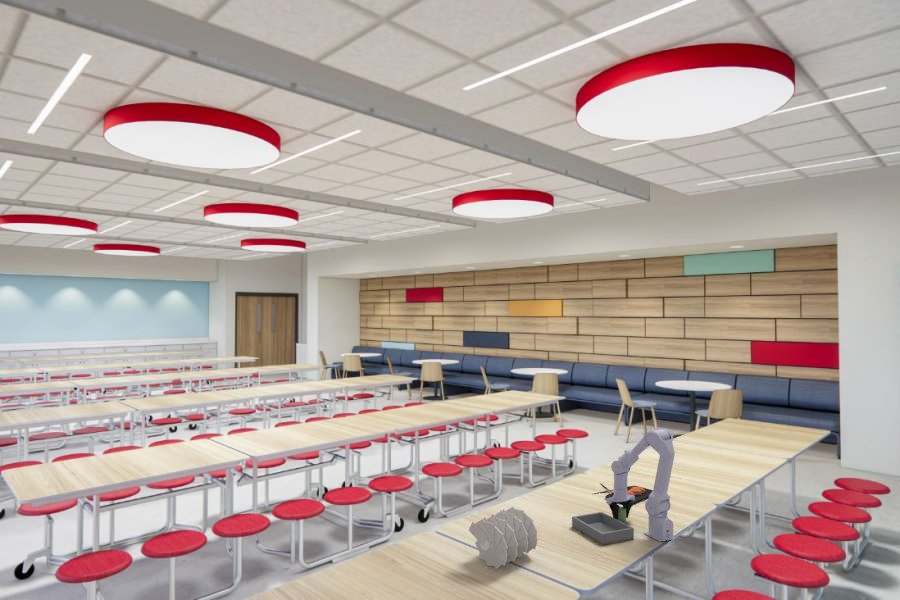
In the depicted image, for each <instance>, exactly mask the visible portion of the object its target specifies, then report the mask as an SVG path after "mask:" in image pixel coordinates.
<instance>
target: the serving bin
mask: <svg viewBox="0 0 900 600" xmlns="http://www.w3.org/2000/svg"><path fill="white" fill-rule="evenodd" d="M571 528H573V529H574V530H576V531H577V532H579V533H581V534H583V535H584V536H586V537H588V538H589V539H591V540H593V541H594V542H595V543H597V544H599V545H601V546H607V545H613V544H616V543H622V542H626V541H632V539H633V540H634V539H635V538H634V537H635V536H634V535H635V534H634V533H635V531H634V530H635V528H634V527H632V526H630V525H629V524H627V523H625V524H624V523H623V522H621V521H619V520H617V519H615V518H613V516H610V515H609V514H607V513H605V512H603V511H598V512H592V513H586V514H580V515H574V516H572V517H571Z"/></svg>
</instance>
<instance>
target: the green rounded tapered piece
mask: <svg viewBox="0 0 900 600" xmlns="http://www.w3.org/2000/svg"><path fill="white" fill-rule="evenodd" d="M618 520H619V521H621V522H623V523H624V524H627V518H626V508H625V507H623V506H620V507H619V510H618Z"/></svg>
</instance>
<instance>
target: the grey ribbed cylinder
mask: <svg viewBox="0 0 900 600" xmlns="http://www.w3.org/2000/svg"><path fill="white" fill-rule="evenodd" d="M469 526H470V527H469V529H468V531H469V533H470V534H471V535H472V536H473V537H474V538H475V539H476V541H475V543H474V544H475V546H476V548H477V550H478V552H479V555H478V557H479V558H480V559H482V560H483V561H484V562H485V563H486V566H488V567H494V568H495V570H498V569H499V568H500V567H501V566H506V565H507V564H508V563H510V562H511V561H512V562H515V561H516V558H520V557H521V556H522V555H523V554H524V553H525V554H528V553H530V551H532V550H536V547H537V545H538V532H539V531H538V530H537V528H536V525H535V524H534V519H533V518H532V517H530V516H529V514H527V513H526V512H525V510H524V509H518V508H515V507H514V506H512V507H510V508H508V509H507V510H506V509H505V508H503V509H502V510H500V511H499V512H497V513H496V514H494V513H492V514H491V517H487V516H484V518H482V519H479V521H477V522H475V521H473V520H472V522H471V524H470V525H469Z"/></svg>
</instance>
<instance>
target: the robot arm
mask: <svg viewBox="0 0 900 600" xmlns="http://www.w3.org/2000/svg"><path fill="white" fill-rule="evenodd" d="M673 439H674V436H673V435H672V433H671V432H670V430H668V429H667V428H660V429H655V430H649V431H647V432H646V433H645V434H644V435H643V437H642V438H641V439H640V440H639V441H638V442H637V444H636V445H635V446H634V447H633V448H631V449H630V448H629V449H625V450H624V453H623V454H622V455H621V456H619V457H618V458H617V459H618V460H613V461H612V463H611V466H610V468H611V471H612V472H613V492H614V495H613V497H610V498H605V502H606V504H607V505H608V506H609V508H610V511H611V514H612V517H613V518H615V519H617V520H618V510H619V507H621V505H619V504H618V503H620V502H622V503H621V504H622V507H625V508H626V519H628V518H629V515H630V511H631V510H632V507H633V505H634V503H633V502H632V501H631V500H635V496H633V495H627V487H628V476H629V472H630V471H631V467H633V465H634V464H635V463H637V461H639V459H640V458H639V455H641V454H642V453H643V452H644V451H645V450H646V449H648V448H649V447H651V448H652V449H653V450H655V452H656V453H658V455H659V457H658V458H659V459H658V463H657V467H656V474H655V479H654V484H653V488H652V490H653V491H652V493H651V494H650V495H649V497H647V499H646V502H645V503H644V509H645V511H646V513H647V515H648V530H647V531H643V534H645V535H647V536H648V537H650V538H652V539H654V540H656V541H658V540H659V541H658V542H660V543H661V541H663V542H666V540H667V541H671V540H675V538H676V537H674V523H673V521H672V520H671V519H670V518H669V517H668V511H670V510H671V501H670V499H671V496H670V494H669V493H668V490H669V485H670V478H671V475H672V470H673V464H674V460H675V449H674V443H673V441H674V440H673Z"/></svg>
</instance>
